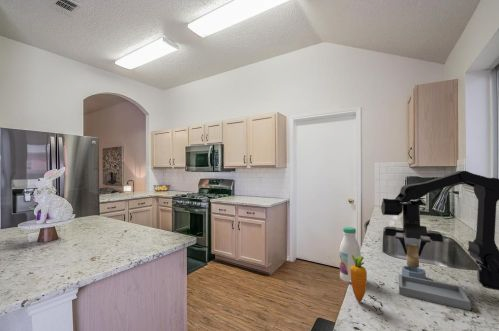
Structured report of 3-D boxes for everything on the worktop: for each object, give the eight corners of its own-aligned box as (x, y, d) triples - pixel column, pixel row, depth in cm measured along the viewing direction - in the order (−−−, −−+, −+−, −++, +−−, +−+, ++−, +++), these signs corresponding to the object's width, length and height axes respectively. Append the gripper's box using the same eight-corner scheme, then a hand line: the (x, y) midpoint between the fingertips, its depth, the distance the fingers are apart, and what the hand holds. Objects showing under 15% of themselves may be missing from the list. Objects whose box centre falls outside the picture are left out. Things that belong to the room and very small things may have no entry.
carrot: (347, 298, 76) (346, 252, 76) (361, 297, 76) (360, 252, 77) (355, 306, 71) (354, 257, 72) (371, 306, 71) (369, 257, 72)
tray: (461, 293, 78) (461, 286, 78) (470, 310, 69) (470, 302, 69) (398, 280, 88) (398, 274, 88) (399, 294, 78) (399, 286, 78)
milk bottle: (360, 276, 92) (358, 226, 93) (362, 285, 85) (361, 230, 86) (339, 273, 95) (338, 225, 95) (340, 282, 87) (339, 229, 88)
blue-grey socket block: (424, 275, 93) (424, 268, 93) (426, 283, 86) (426, 274, 86) (401, 271, 97) (401, 264, 97) (402, 278, 90) (402, 270, 90)
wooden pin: (418, 264, 92) (417, 244, 93) (419, 268, 89) (418, 247, 89) (406, 262, 94) (406, 243, 95) (407, 266, 91) (406, 245, 91)
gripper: (383, 217, 91) (384, 256, 90) (444, 222, 81) (446, 266, 80) (384, 213, 100) (385, 249, 99) (439, 217, 90) (441, 257, 89)
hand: (412, 255), depth 92 cm, fingers closed on wooden pin, 4 cm apart
